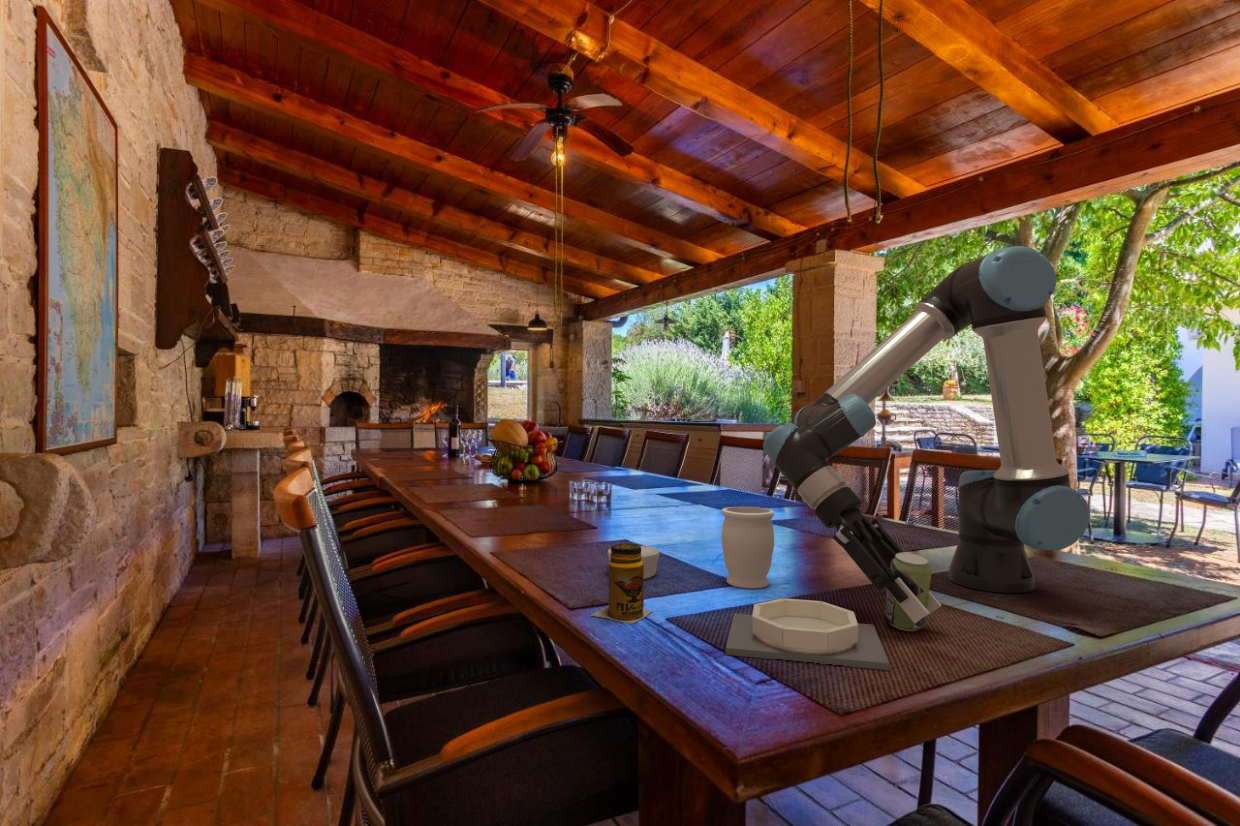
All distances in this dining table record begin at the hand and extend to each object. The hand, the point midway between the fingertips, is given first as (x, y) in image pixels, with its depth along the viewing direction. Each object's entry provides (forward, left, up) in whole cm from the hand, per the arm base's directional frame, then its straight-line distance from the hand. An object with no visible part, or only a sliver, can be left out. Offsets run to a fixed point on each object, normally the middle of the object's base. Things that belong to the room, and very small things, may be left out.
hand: (928, 613), depth 101 cm
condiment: (+49, +2, -4) cm, 49 cm away
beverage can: (+3, -3, -4) cm, 5 cm away
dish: (+19, +8, -2) cm, 21 cm away
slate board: (+19, +8, -3) cm, 21 cm away
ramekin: (+53, -24, -4) cm, 58 cm away
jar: (+29, -23, -4) cm, 37 cm away
